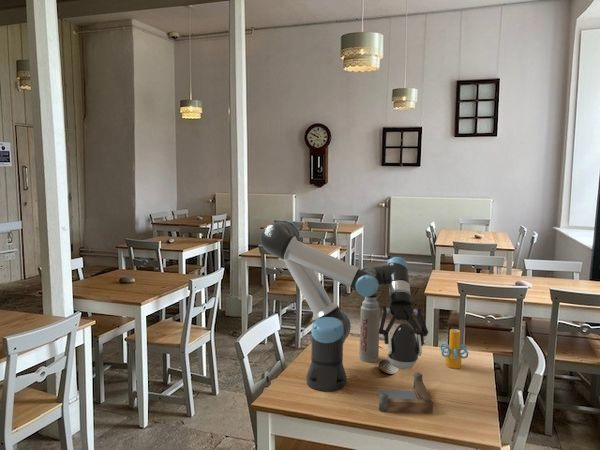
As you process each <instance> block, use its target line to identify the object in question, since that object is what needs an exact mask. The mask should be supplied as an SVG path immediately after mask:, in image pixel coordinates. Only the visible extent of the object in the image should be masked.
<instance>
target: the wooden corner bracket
mask: <svg viewBox="0 0 600 450" xmlns="http://www.w3.org/2000/svg"><path fill="white" fill-rule="evenodd" d="M423 378H424V377H423V374H422V373H420V372H415V373H414V374H413V389H414V391H415V394H416V396H417V399H396V398H388V395H387V394H384V393H382V394H379V393H378V411H380V412H381V413H386V412H387V413H407V414H409V413H410V414H411V413H412V414H414V413H415V414H433V413H434V402H433V400H432V397H431V395H430V393H429V391H428V389H427V386H426V385H425V383H424V381H423V380H424V379H423Z"/></svg>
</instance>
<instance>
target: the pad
mask: <svg viewBox="0 0 600 450" xmlns="http://www.w3.org/2000/svg"><path fill="white" fill-rule="evenodd" d="M377 392H378V395H379V394H382V393H384V394H387V395H388V398H396V399H418V396H417V393H416V391H415V390H405V389H404V390H400V389H397V390H396V389H377Z"/></svg>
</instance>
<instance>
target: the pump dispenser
mask: <svg viewBox="0 0 600 450" xmlns="http://www.w3.org/2000/svg"><path fill="white" fill-rule="evenodd" d="M418 332H420V330H419V329H415V330H414V329H413V328H412V326H411V325H410V324H408V323H401V324H398V326H396V328H395V330H394V332H393V334H392V336H391V347H392V352H391V354H388V353H387V356H388V359H389V362H390V364H391V365H392V366H393V367H394V368H397V369H399V370H408V369H411V368H413V367H414V366H415V365H416V363H417V360H419V356H418V346H417V336H416V333H418Z"/></svg>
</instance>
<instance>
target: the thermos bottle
mask: <svg viewBox="0 0 600 450" xmlns="http://www.w3.org/2000/svg"><path fill="white" fill-rule="evenodd" d="M377 296H378V295H377V293H374V294H373V295H372V296H369V297H364V300H363V301H362V303H361V304H362V305H361V306H360V315H359V316H360V320H359V321H360V322H359V325H360V326H359V329H360V330H359V334H360V335H359V357H358V359H359V360H360V361H361V362H365V363H376V362H378V361H379V356H380V355H379V350H380V349H379V348H380V334H379V329H380V324H381V320H380V317H381V308H380V305H379V301H378V299H377Z"/></svg>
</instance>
